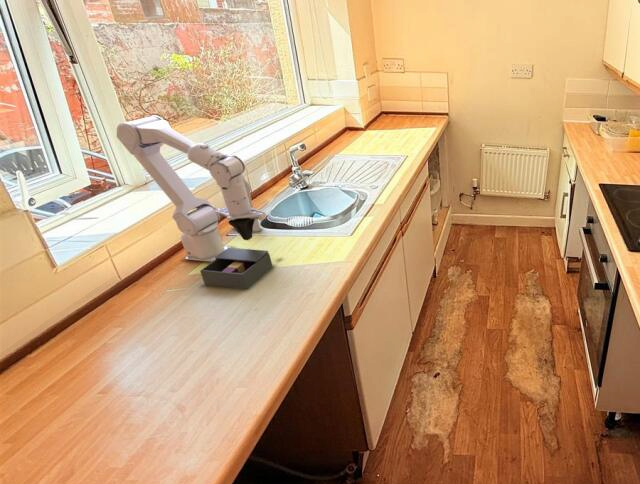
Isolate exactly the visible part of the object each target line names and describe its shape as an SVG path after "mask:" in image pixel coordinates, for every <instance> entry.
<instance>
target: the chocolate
mask: <svg viewBox="0 0 640 484" xmlns="http://www.w3.org/2000/svg"><path fill="white" fill-rule="evenodd" d="M251 266H252V263H251V262H248V261H235V262H233V263H232V264H231V265H229V266H228V267H227V268H225V269H224V270H223V271H221V272H231V273H242V274H243V273H244V272H245V271H246V270H247V269H249V268H250V267H251Z"/></svg>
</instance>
